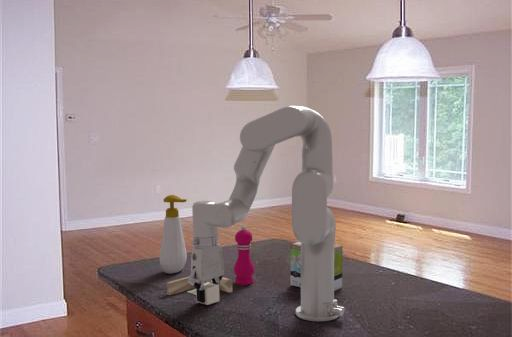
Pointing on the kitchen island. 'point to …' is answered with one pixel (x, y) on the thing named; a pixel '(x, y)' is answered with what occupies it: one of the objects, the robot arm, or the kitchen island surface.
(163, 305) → the kitchen island surface
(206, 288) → the cube
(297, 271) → the tea box
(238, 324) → the kitchen island surface
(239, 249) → the pepper mill
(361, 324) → the kitchen island surface
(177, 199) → the soap bottle
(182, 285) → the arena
